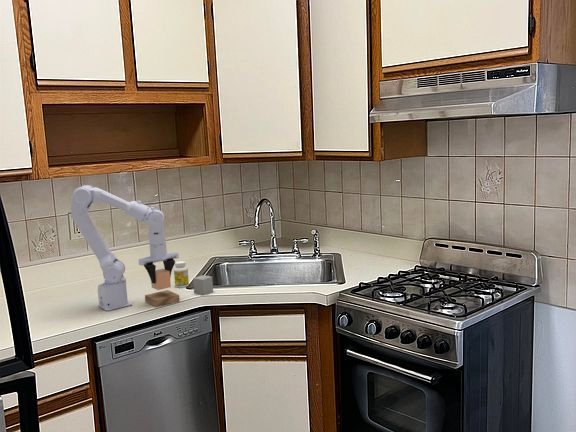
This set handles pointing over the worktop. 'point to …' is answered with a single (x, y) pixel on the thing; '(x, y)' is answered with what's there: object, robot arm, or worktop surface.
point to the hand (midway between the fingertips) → (160, 281)
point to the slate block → (203, 285)
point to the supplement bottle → (181, 274)
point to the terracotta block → (162, 279)
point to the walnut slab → (162, 298)
